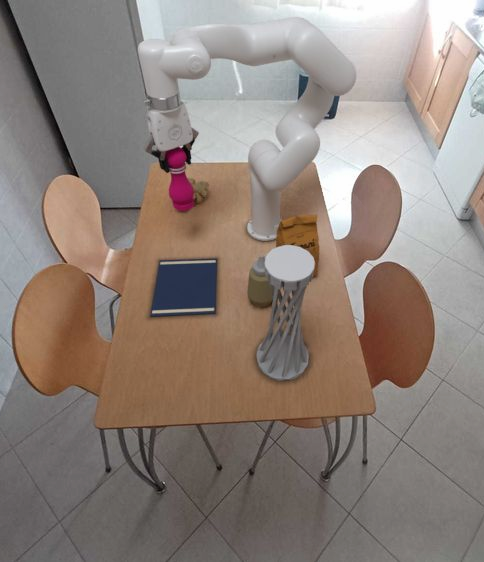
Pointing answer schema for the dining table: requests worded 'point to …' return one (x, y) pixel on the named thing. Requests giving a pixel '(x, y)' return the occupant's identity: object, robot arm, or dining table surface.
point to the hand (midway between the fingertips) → (176, 166)
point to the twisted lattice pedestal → (286, 313)
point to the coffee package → (300, 235)
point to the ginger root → (199, 189)
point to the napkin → (185, 288)
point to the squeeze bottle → (259, 284)
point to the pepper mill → (179, 180)
